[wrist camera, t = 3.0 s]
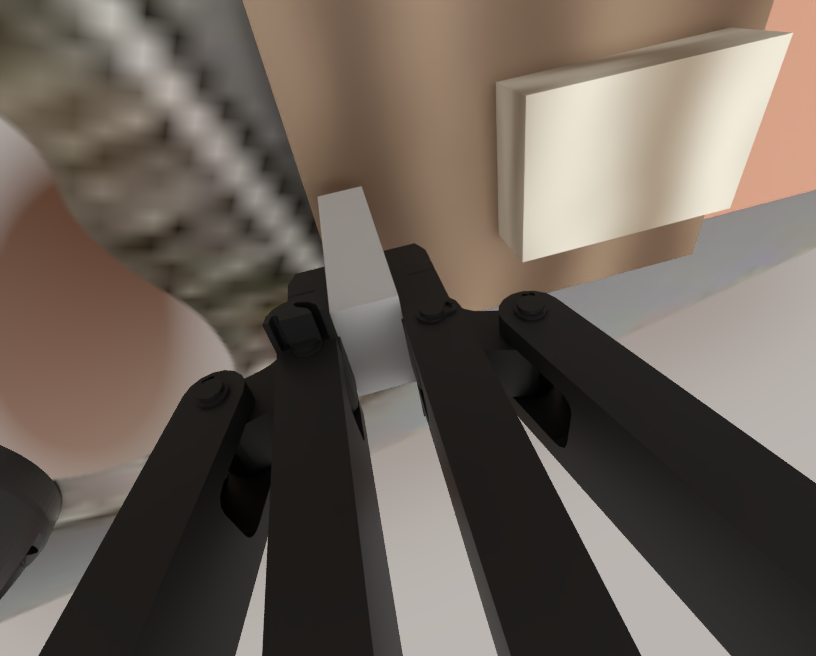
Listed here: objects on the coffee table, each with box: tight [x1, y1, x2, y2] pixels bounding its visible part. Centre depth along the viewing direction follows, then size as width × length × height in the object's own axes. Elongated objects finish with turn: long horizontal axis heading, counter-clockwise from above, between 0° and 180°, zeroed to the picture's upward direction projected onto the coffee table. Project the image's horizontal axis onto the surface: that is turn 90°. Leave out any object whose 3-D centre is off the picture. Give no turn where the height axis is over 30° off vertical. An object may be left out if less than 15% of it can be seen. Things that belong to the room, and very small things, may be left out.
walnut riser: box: [242, 0, 774, 311], centre depth 18 cm, size 18×14×4 cm
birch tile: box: [496, 28, 793, 262], centre depth 16 cm, size 9×6×2 cm, turn 99°
